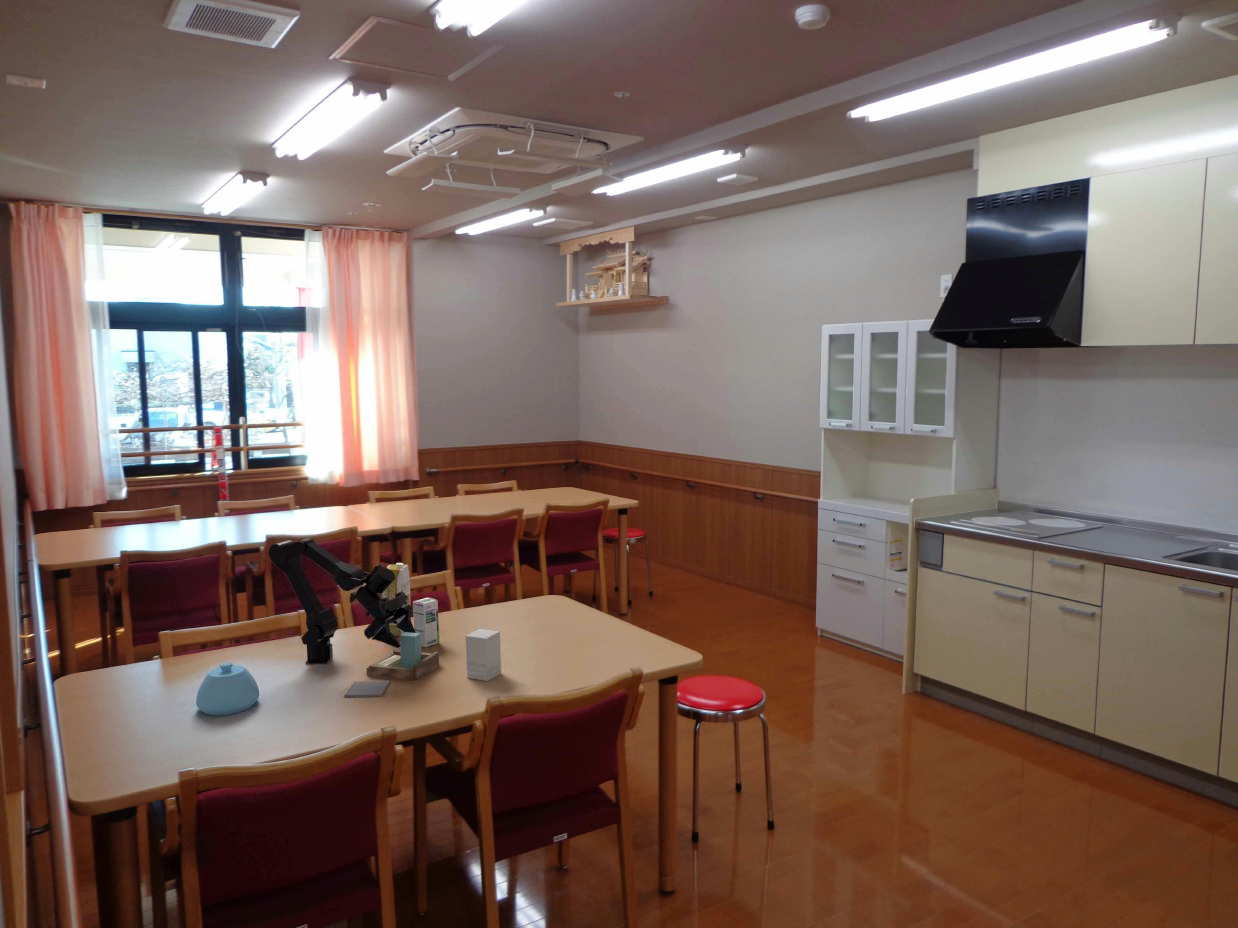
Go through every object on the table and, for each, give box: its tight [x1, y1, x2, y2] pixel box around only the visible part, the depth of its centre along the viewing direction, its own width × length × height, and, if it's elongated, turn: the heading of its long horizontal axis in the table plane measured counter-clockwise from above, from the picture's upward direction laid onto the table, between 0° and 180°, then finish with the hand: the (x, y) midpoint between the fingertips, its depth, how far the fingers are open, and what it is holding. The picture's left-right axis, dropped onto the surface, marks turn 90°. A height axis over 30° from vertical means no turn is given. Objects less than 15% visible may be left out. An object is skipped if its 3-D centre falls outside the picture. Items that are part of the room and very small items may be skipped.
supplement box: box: [465, 628, 502, 682], centre depth 237 cm, size 7×7×13 cm
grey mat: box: [343, 680, 391, 698], centre depth 227 cm, size 10×10×1 cm
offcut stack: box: [377, 655, 401, 667], centre depth 244 cm, size 4×10×3 cm, turn 163°
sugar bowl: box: [195, 662, 260, 717], centre depth 216 cm, size 15×15×12 cm
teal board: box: [399, 632, 422, 669], centre depth 242 cm, size 5×3×11 cm, turn 74°
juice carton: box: [381, 562, 412, 637], centre depth 277 cm, size 9×8×24 cm
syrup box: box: [412, 597, 440, 648], centre depth 266 cm, size 6×6×14 cm
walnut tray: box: [366, 649, 440, 681], centre depth 243 cm, size 16×14×4 cm
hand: (407, 642), depth 242 cm, fingers open, 9 cm apart
